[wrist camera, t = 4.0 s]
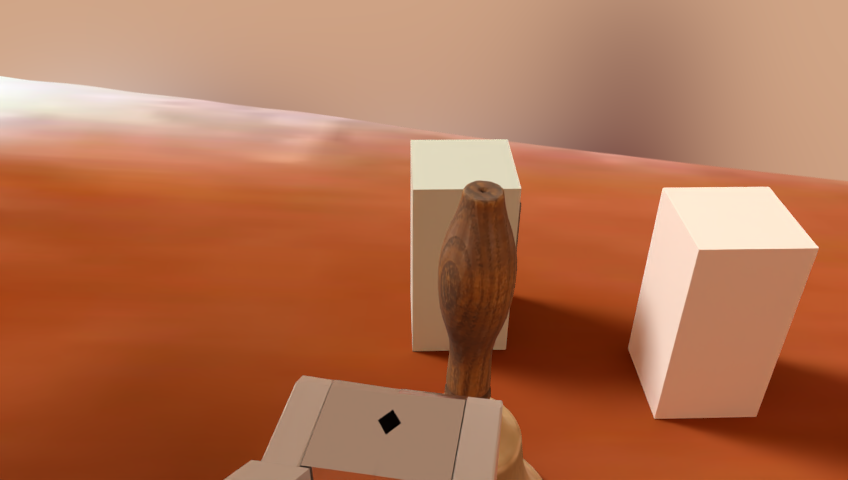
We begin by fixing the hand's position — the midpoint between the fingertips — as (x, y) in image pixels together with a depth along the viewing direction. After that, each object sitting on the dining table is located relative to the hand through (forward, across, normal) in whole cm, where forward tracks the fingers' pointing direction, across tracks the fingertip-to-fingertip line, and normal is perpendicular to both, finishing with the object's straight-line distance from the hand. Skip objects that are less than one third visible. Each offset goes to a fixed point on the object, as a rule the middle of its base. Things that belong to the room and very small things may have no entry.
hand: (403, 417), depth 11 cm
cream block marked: (+22, -10, +19) cm, 31 cm away
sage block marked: (+25, +2, +19) cm, 31 cm away
